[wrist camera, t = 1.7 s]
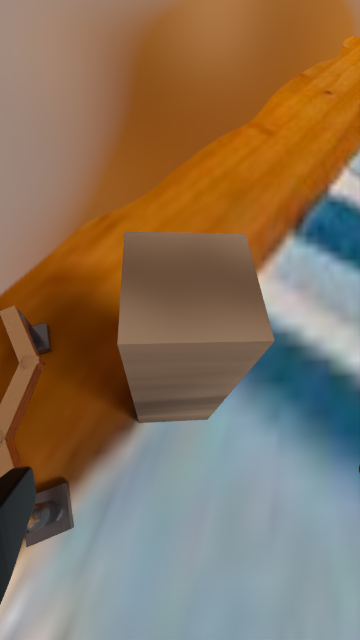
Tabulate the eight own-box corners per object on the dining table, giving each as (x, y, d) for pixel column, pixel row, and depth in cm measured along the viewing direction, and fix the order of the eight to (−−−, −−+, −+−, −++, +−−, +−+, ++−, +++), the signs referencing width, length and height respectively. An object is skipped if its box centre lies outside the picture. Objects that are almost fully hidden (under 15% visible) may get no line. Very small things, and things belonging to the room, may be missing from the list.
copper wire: (81, 523, 16) (58, 537, 12) (22, 548, 15) (-22, 571, 11) (53, 325, 23) (33, 293, 19) (12, 335, 22) (-19, 304, 18)
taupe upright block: (207, 419, 20) (274, 340, 9) (139, 422, 19) (117, 344, 8) (200, 356, 22) (245, 233, 11) (140, 358, 22) (124, 231, 11)
